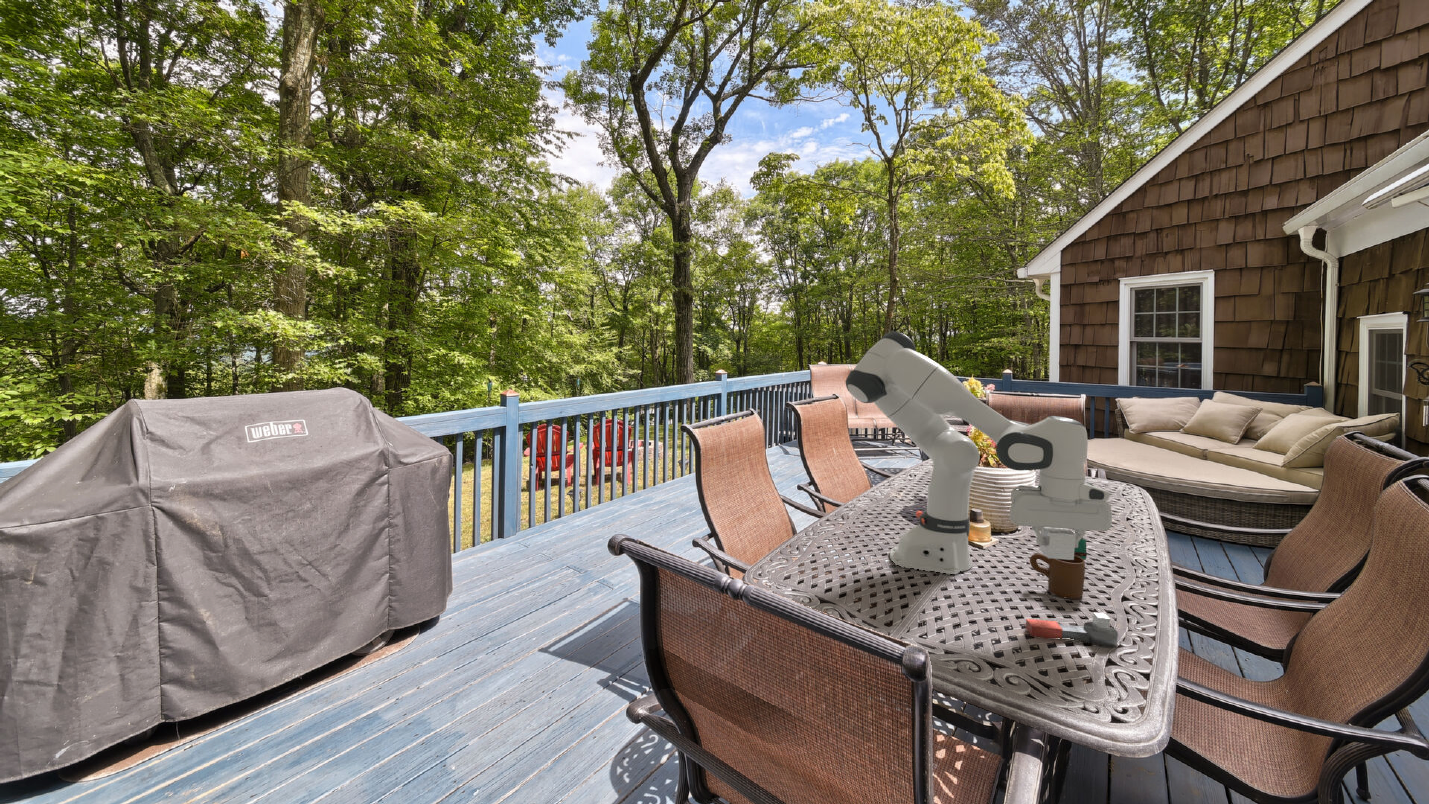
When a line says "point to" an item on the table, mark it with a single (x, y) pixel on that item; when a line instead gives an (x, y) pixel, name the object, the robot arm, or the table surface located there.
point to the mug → (1062, 575)
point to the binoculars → (1081, 549)
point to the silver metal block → (1058, 543)
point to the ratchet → (1077, 630)
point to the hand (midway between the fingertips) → (1056, 545)
